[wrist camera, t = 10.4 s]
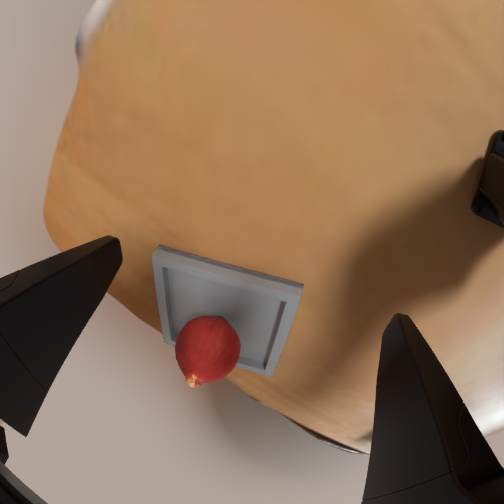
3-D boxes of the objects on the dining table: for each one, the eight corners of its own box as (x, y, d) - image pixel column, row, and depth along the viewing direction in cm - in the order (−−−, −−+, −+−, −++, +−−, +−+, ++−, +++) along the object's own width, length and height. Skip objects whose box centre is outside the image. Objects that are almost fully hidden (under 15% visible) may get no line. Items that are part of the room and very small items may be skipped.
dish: (303, 283, 23) (301, 296, 22) (274, 366, 31) (272, 377, 30) (159, 245, 25) (151, 254, 24) (169, 333, 33) (164, 342, 31)
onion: (233, 345, 29) (208, 409, 23) (186, 318, 29) (152, 379, 22) (261, 319, 26) (235, 393, 20) (206, 286, 25) (167, 356, 19)
